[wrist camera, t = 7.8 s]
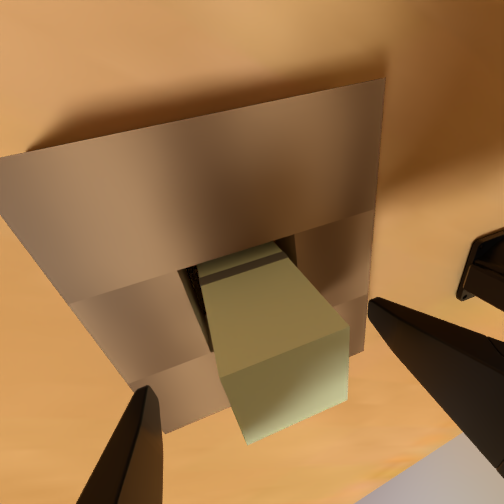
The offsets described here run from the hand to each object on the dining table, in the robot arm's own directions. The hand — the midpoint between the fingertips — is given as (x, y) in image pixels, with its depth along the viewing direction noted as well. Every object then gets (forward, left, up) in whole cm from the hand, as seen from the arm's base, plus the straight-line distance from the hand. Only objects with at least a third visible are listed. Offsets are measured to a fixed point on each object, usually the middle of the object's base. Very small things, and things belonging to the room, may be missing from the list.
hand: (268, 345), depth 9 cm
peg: (0, 0, -6) cm, 6 cm away
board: (0, 0, -6) cm, 6 cm away
